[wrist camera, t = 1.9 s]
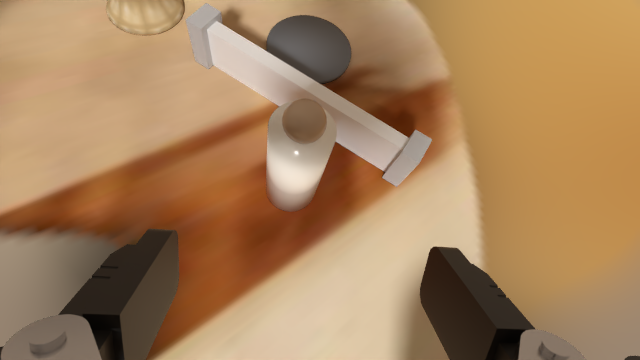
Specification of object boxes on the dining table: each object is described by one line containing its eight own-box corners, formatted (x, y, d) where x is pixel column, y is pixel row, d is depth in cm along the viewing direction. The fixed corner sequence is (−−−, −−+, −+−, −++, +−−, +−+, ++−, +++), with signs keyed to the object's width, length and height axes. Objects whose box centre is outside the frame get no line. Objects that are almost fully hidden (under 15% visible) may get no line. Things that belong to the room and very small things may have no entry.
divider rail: (195, 61, 38) (185, 19, 33) (213, 45, 39) (206, 2, 34) (396, 186, 36) (419, 163, 31) (408, 165, 37) (432, 139, 32)
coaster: (249, 54, 40) (249, 50, 39) (297, 7, 44) (297, 3, 43) (322, 99, 39) (323, 96, 38) (364, 46, 43) (365, 43, 42)
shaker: (255, 193, 33) (252, 114, 21) (283, 157, 35) (296, 65, 23) (297, 221, 33) (319, 156, 21) (323, 182, 35) (357, 103, 23)
